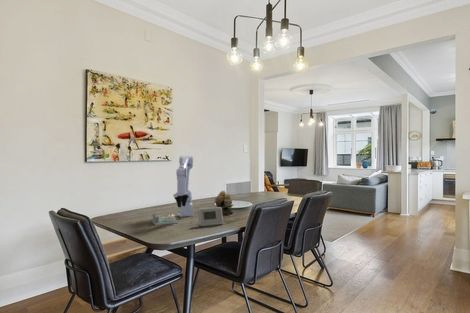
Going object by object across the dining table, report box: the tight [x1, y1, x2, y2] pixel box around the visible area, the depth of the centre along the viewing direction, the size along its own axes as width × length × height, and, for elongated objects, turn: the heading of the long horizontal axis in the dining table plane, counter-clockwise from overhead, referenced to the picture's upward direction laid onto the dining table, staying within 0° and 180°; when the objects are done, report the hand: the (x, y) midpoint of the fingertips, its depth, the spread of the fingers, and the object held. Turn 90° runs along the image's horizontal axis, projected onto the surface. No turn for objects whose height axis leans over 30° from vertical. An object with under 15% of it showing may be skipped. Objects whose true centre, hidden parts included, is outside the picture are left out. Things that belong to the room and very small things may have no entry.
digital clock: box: [197, 206, 224, 227], centre depth 184 cm, size 16×9×11 cm, turn 103°
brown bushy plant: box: [214, 190, 234, 215], centre depth 220 cm, size 18×12×17 cm, turn 48°
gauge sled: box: [165, 213, 176, 219], centre depth 190 cm, size 5×5×4 cm
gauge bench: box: [152, 213, 179, 226], centre depth 189 cm, size 14×11×5 cm
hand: (181, 206), depth 193 cm, fingers open, 4 cm apart
